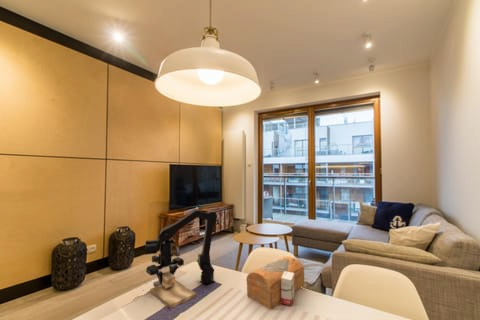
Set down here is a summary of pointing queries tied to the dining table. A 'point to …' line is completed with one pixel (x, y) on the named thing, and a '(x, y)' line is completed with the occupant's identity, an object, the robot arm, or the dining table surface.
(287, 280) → the ink box
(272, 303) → the wooden box
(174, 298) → the oak board
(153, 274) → the robot arm
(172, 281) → the tan rectangular block
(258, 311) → the dining table surface
